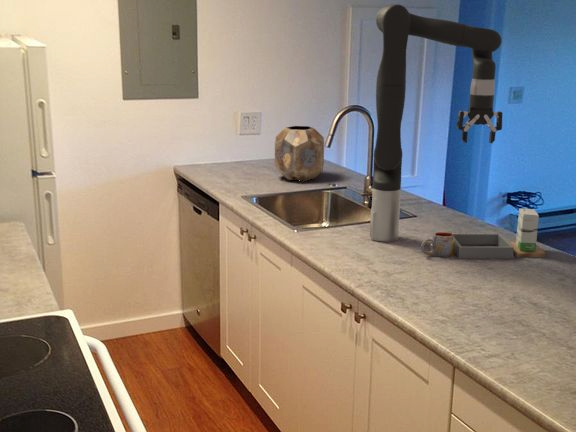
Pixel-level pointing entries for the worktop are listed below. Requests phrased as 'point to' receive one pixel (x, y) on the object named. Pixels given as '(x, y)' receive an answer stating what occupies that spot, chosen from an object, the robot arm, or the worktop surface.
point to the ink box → (527, 229)
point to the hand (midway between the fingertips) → (477, 142)
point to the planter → (299, 153)
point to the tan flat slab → (527, 252)
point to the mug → (440, 245)
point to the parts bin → (482, 252)
